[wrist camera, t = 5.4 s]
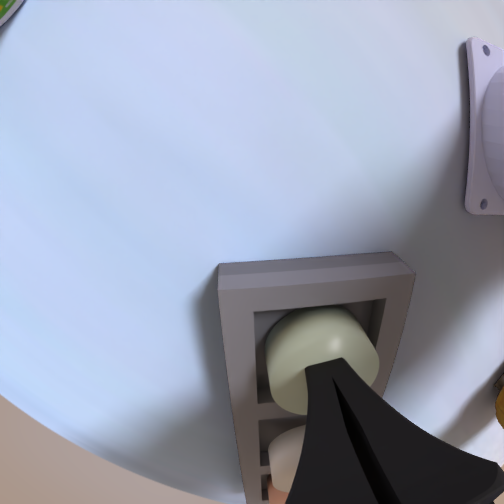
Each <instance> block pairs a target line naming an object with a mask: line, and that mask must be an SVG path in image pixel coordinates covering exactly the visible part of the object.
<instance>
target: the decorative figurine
mask: <svg viewBox="0 0 504 504" xmlns="http://www.w3.org/2000/svg"><path fill="white" fill-rule="evenodd" d="M494 386H495V387H497V388H498V390H499V391H500V392H499V394H498V396H497V399H496V402H495V408H496V417H497V419H498V422H499V423H500V425H501V426H502V427H503V429H504V373H503V375H502V376H501V377H500V379H499V380H498V381H497V383H496V384H495V385H494Z"/></svg>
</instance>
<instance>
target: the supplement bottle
mask: <svg viewBox="0 0 504 504" xmlns="http://www.w3.org/2000/svg"><path fill="white" fill-rule="evenodd" d="M23 1H24V0H0V26H1V25H3V24H4V23H5V22H6V21H7V20H8V19H9V18H10V17H11V15H12V14H13V13H14V12H15V11H16V10H17V9H18V7H19V6H20V5H21V4H22V2H23Z"/></svg>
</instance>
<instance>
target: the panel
mask: <svg viewBox="0 0 504 504" xmlns="http://www.w3.org/2000/svg"><path fill="white" fill-rule="evenodd" d="M415 275H416V273H415V272H414V271H413V270H412V269H411V268H410V267H409V266H408V265H406V264H405V263H404V262H403V261H402V260H401V259H400V258H399V257H398V256H397V255H395V254H394V253H393V252H380V253H367V254H353V255H339V256H325V257H310V258H296V259H281V260H266V261H251V262H235V263H219V272H218V299H219V308H220V317H221V326H222V335H223V344H224V352H225V360H226V368H227V376H228V384H229V391H230V399H231V406H232V413H233V421H234V428H235V434H236V441H237V448H238V454H239V461H240V467H241V473H242V479H243V485H244V491H245V497H246V503H247V504H269V496H268V488H267V477H268V476H269V475H270V474H271V468H270V461H269V453H268V447H269V445H270V443H271V442H272V441H273V440H274V439H275V438H276V437H277V436H279V435H280V434H282V433H284V432H286V431H288V430H290V429H293V428H296V427H299V426H303V425H306V420H307V415H300V414H295V413H292V412H289V411H287V410H285V409H283V408H281V407H280V406H279V405H278V404H277V403H276V402H275V401H274V399H273V397H272V394H271V390H270V383H269V377H268V371H267V365H266V359H265V343H266V340H267V337H268V335H269V334H270V332H271V330H272V329H273V328H274V326H275V325H276V324H277V323H278V322H279V321H280V320H282V319H283V318H284V317H285V316H287V315H289V314H290V313H292V312H294V311H296V310H298V309H301V308H303V307H314V306H324V305H337V306H340V307H343V308H345V309H347V310H349V311H350V312H351V313H352V314H353V315H354V316H355V317H356V318H357V320H358V321H359V323H360V325H361V326H362V328H363V330H364V331H365V333H366V335H367V337H368V338H369V340H370V342H371V343H372V345H373V347H374V349H375V350H376V352H377V354H378V357H379V370H378V374H377V376H376V378H375V380H374V382H373V384H372V385H371V386H370V388H372V389H373V390H374V391H375V392H376V393H377V394H378V395H379V396H380V397H381V398H382V396H383V393H384V391H385V388H386V385H387V382H388V379H389V376H390V373H391V369H392V366H393V363H394V360H395V356H396V353H397V350H398V346H399V342H400V339H401V335H402V331H403V328H404V324H405V320H406V316H407V312H408V307H409V303H410V299H411V294H412V289H413V285H414V280H415Z"/></svg>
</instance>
